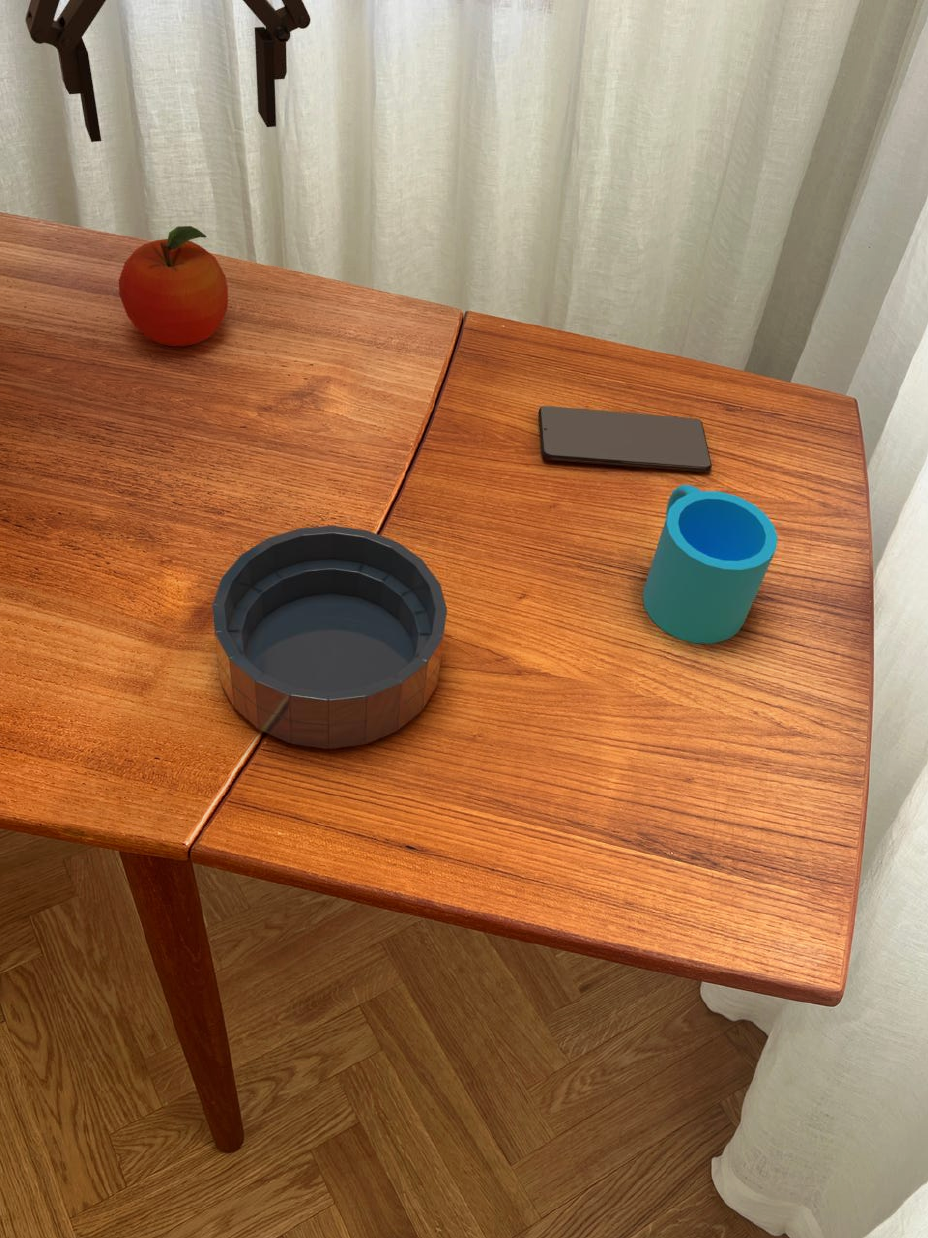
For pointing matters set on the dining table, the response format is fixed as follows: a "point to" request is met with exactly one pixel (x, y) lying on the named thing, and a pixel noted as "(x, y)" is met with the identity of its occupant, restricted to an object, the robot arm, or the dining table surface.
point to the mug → (708, 565)
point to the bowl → (329, 636)
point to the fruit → (174, 289)
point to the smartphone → (623, 439)
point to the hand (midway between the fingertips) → (182, 126)
